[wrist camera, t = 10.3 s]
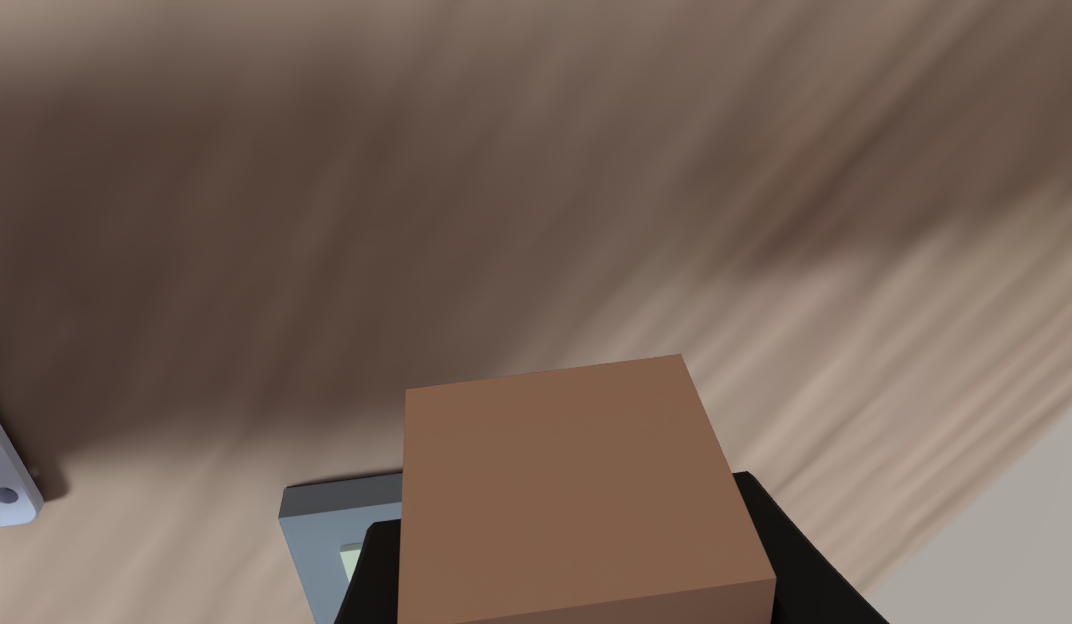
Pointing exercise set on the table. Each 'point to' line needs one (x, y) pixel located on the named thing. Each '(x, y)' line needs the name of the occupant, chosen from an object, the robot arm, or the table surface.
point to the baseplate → (334, 533)
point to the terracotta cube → (574, 504)
